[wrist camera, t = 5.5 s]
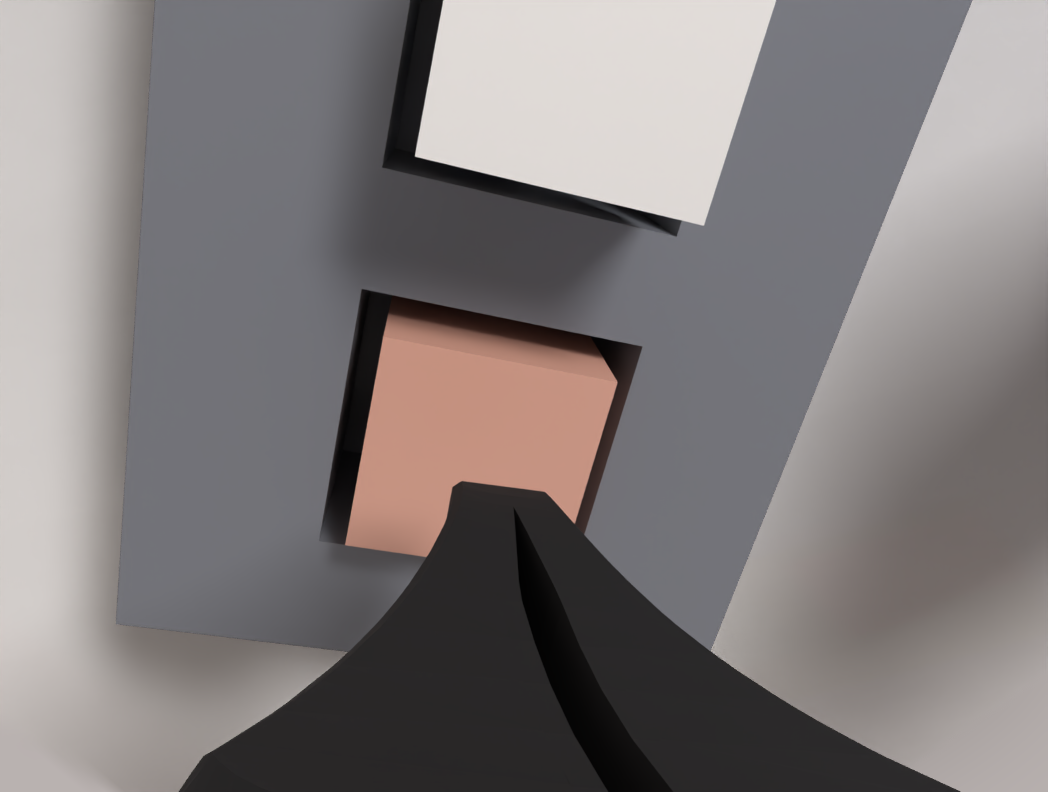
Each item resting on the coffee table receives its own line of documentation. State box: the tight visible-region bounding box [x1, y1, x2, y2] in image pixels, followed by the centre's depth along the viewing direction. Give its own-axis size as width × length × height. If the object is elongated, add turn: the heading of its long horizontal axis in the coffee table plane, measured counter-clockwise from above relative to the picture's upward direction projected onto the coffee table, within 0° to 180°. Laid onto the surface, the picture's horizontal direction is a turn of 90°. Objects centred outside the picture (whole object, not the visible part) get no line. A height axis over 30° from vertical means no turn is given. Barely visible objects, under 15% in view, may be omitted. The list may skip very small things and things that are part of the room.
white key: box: [415, 0, 776, 226], centre depth 11 cm, size 4×4×3 cm
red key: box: [345, 295, 618, 557], centre depth 15 cm, size 4×4×3 cm
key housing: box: [116, 0, 972, 652], centre depth 14 cm, size 12×24×4 cm, turn 167°
